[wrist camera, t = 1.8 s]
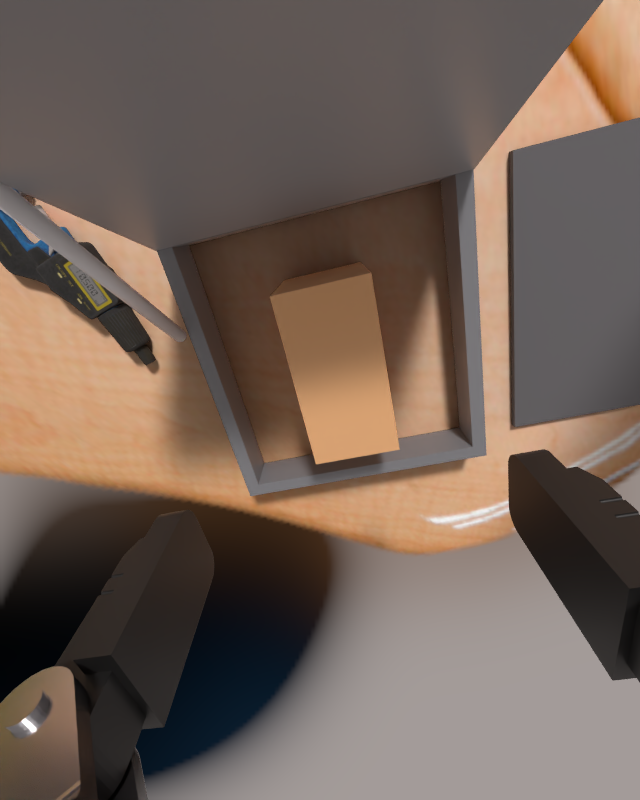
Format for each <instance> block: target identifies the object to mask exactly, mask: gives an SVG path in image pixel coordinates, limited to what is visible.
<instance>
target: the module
mask: <svg viewBox="0 0 640 800" xmlns="http://www.w3.org/2000/svg"><path fill="white" fill-rule="evenodd" d="M270 300H271V304H272V307H273V311H274V315H275V318H276V322H277V325H278V329H279V333H280V336H281V340H282V343H283V347H284V351H285V354H286V358H287V362H288V365H289V369H290V372H291V376H292V380H293V383H294V387H295V390H296V394H297V398H298V401H299V405H300V409H301V412H302V416H303V419H304V423H305V427H306V430H307V434H308V437H309V441H310V445H311V448H312V452H313V456H314V459H315V463H316V464H321V463H327V462H333V461H338V460H344V459H350V458H355V457H361V456H367V455H372V454H378V453H383V452H389V451H395V450H400V448H399V442H398V436H397V429H396V423H395V417H394V411H393V404H392V398H391V392H390V386H389V379H388V373H387V367H386V361H385V355H384V348H383V342H382V336H381V330H380V323H379V317H378V311H377V305H376V298H375V292H374V286H373V280H372V273H371V272H370V271H369V270H368V269H367V268H366V267H365V266H364V265H363V264H362V263H361V262H359V263H354V264H350V265H346V266H342V267H338V268H333V269H329V270H325V271H321V272H317V273H312V274H308V275H304V276H300V277H296V278H291V279H287V280H284V281H283V282H282V283H281V284H280V285H279V287H278V288H277V289H276V290H275V291H274V292H273V293H272V294H271V295H270Z"/></svg>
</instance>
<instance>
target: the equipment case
mask: <svg viewBox="0 0 640 800" xmlns="http://www.w3.org/2000/svg"><path fill="white" fill-rule="evenodd" d="M602 1H603V0H0V210H2V211H3V212H4V213H6V214H7V215H8V216H10V217H11V218H12V219H14V220H15V221H16V222H18V223H19V224H20V225H22V226H23V227H24V228H26V229H27V230H28V231H30V232H31V233H33V234H34V235H35V236H37V237H38V238H39V239H41V240H42V241H43V242H45V243H46V244H47V245H49V246H50V247H51V248H53V249H54V250H55V251H57V252H58V253H59V254H61V255H62V256H63V257H65V258H66V259H67V260H69V261H70V262H71V263H73V264H74V265H75V266H77V267H78V268H79V269H81V270H82V271H83V272H85V273H86V274H87V275H89V276H90V277H91V278H93V279H94V280H95V281H97V282H98V283H99V284H101V285H102V286H103V287H105V288H106V289H107V290H109V291H110V292H111V293H113V294H114V295H115V296H117V297H118V298H119V299H121V300H122V301H123V302H125V303H126V304H127V305H129V306H130V307H131V308H133V309H134V310H135V311H137V312H138V313H139V314H141V315H142V316H143V317H145V318H146V319H147V320H149V321H150V322H151V323H153V324H154V325H155V326H157V327H158V328H159V329H161V330H162V331H164V332H165V333H166V334H168V335H169V336H170V337H172V338H173V339H174V340H176V341H177V342H183V341H184V340H185V339H186V337H187V335H186V332H185V331H184V330H182V329H181V328H180V327H179V326H178V325H176V324H175V323H174V322H173V321H172V320H170V319H169V318H168V317H167V316H166V315H164V314H163V313H162V312H161V311H160V310H158V309H157V308H156V307H155V306H154V305H152V304H151V303H150V302H149V301H148V300H146V299H145V298H144V297H143V296H142V295H140V294H139V293H138V292H137V291H136V290H134V289H133V288H132V287H131V286H130V285H128V284H127V283H126V282H125V281H123V280H122V279H121V278H120V277H119V276H117V275H116V274H115V273H114V272H113V271H111V270H110V269H109V268H108V267H107V266H105V265H104V264H103V263H102V262H101V261H99V260H98V259H97V258H96V257H95V256H93V255H92V254H91V253H90V252H89V251H87V250H86V249H85V248H84V247H83V246H81V245H80V244H79V243H78V242H77V241H75V240H74V239H73V238H72V237H71V236H69V235H68V234H67V233H66V232H64V231H63V230H62V229H61V228H60V227H58V226H57V225H56V224H55V223H54V222H52V221H51V220H50V219H49V218H48V217H46V216H45V215H44V214H43V213H42V212H40V211H39V210H38V209H37V208H36V207H34V206H33V205H32V204H31V203H30V202H28V201H27V200H26V199H25V198H24V197H22V196H21V195H20V194H19V193H18V192H16V191H15V190H14V189H16V190H18V191H20V192H22V193H25V194H27V195H29V196H32V197H34V198H36V199H38V200H41V201H43V202H45V203H48V204H50V205H52V206H54V207H57V208H59V209H61V210H64V211H66V212H68V213H71V214H73V215H75V216H77V217H80V218H82V219H84V220H87V221H89V222H91V223H93V224H96V225H98V226H100V227H103V228H105V229H107V230H109V231H112V232H114V233H116V234H119V235H121V236H123V237H125V238H128V239H130V240H132V241H135V242H137V243H139V244H141V245H144V246H146V247H148V248H151V249H153V250H155V251H157V252H158V255H159V257H160V260H161V263H162V265H163V268H164V270H165V273H166V276H167V278H168V281H169V284H170V286H171V289H172V291H173V294H174V297H175V299H176V302H177V305H178V307H179V310H180V312H181V315H182V318H183V320H184V323H185V325H186V328H187V331H188V333H189V336H190V339H191V341H192V344H193V346H194V349H195V352H196V354H197V357H198V360H199V362H200V365H201V367H202V370H203V373H204V375H205V378H206V380H207V383H208V386H209V388H210V391H211V394H212V396H213V399H214V401H215V404H216V407H217V409H218V412H219V415H220V417H221V420H222V422H223V425H224V428H225V430H226V433H227V435H228V438H229V441H230V443H231V446H232V449H233V451H234V454H235V456H236V459H237V462H238V464H239V467H240V470H241V472H242V475H243V477H244V480H245V483H246V485H247V488H248V490H249V493H250V496H254V495H260V494H266V493H272V492H277V491H283V490H289V489H295V488H301V487H306V486H312V485H318V484H324V483H329V482H335V481H341V480H347V479H352V478H358V477H364V476H370V475H375V474H381V473H387V472H393V471H399V470H404V469H410V468H416V467H422V466H427V465H433V464H439V463H445V462H450V461H456V460H462V459H468V458H473V457H479V456H485V455H486V437H485V415H484V393H483V371H482V349H481V327H480V305H479V283H478V261H477V239H476V217H475V195H474V173H473V169H475V167H476V166H477V165H478V164H479V162H480V161H481V160H482V158H483V157H484V156H485V154H486V153H487V152H488V150H489V149H490V148H491V147H492V145H493V144H494V143H495V141H496V140H497V139H498V137H499V136H500V135H501V133H502V132H503V131H504V130H505V128H506V127H507V126H508V124H509V123H510V122H511V120H512V119H513V118H514V116H515V115H516V114H517V113H518V111H519V110H520V109H521V107H522V106H523V105H524V103H525V102H526V101H527V99H528V98H529V97H530V96H531V94H532V93H533V92H534V90H535V89H536V88H537V86H538V85H539V84H540V82H541V81H542V80H543V79H544V77H545V76H546V75H547V73H548V72H549V71H550V69H551V68H552V67H553V65H554V64H555V63H556V62H557V60H558V59H559V58H560V56H561V55H562V54H563V52H564V51H565V50H566V48H567V47H568V46H569V45H570V43H571V42H572V41H573V39H574V38H575V37H576V35H577V34H578V33H579V31H580V30H581V29H582V28H583V26H584V25H585V24H586V22H587V21H588V20H589V18H590V17H591V16H592V14H593V13H594V12H595V11H596V9H597V8H598V7H599V5H600V4H601V3H602ZM439 181H440V183H441V196H442V209H443V222H444V235H445V247H446V260H447V273H448V286H449V298H450V311H451V324H452V337H453V349H454V362H455V375H456V388H457V401H458V413H459V426H460V428H454V429H449V430H443V431H438V432H432V433H427V434H421V435H416V436H410V437H405V438H399V439H398V442H399V448H400V450H395V451H389V452H383V453H378V454H372V455H367V456H361V457H355V458H350V459H344V460H338V461H333V462H327V463H321V464H316V463H315V459H314V456H313V454H312V455H307V456H301V457H296V458H290V459H285V460H279V461H274V462H268V463H264V461H263V458H262V455H261V452H260V449H259V446H258V443H257V441H256V438H255V435H254V432H253V429H252V426H251V423H250V420H249V417H248V415H247V412H246V409H245V406H244V403H243V400H242V397H241V394H240V391H239V389H238V386H237V383H236V380H235V377H234V374H233V371H232V368H231V365H230V363H229V360H228V357H227V354H226V351H225V348H224V345H223V342H222V339H221V337H220V334H219V331H218V328H217V325H216V322H215V319H214V316H213V313H212V311H211V308H210V305H209V302H208V299H207V296H206V293H205V290H204V287H203V285H202V282H201V279H200V276H199V273H198V270H197V267H196V264H195V261H194V259H193V256H192V253H191V250H190V247H189V245H193V244H197V243H200V242H204V241H208V240H212V239H216V238H220V237H224V236H228V235H232V234H236V233H240V232H243V231H247V230H251V229H255V228H259V227H263V226H267V225H271V224H275V223H279V222H283V221H286V220H290V219H294V218H298V217H302V216H306V215H310V214H314V213H318V212H322V211H326V210H329V209H333V208H337V207H341V206H345V205H349V204H353V203H357V202H361V201H365V200H368V199H372V198H376V197H380V196H384V195H388V194H392V193H396V192H400V191H404V190H408V189H411V188H415V187H419V186H423V185H427V184H431V183H435V182H439Z"/></svg>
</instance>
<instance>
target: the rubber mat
mask: <svg viewBox="0 0 640 800" xmlns="http://www.w3.org/2000/svg"><path fill="white" fill-rule="evenodd" d="M509 163H510V259H511V355H512V425H513V426H514V427H518V426H524V425H529V424H535V423H540V422H546V421H552V420H557V419H563V418H568V417H574V416H579V415H585V414H590V413H596V412H601V411H607V410H613V409H618V408H624V407H629V406H635V405H640V118H636V119H632V120H629V121H625V122H621V123H617V124H613V125H609V126H605V127H602V128H598V129H594V130H590V131H586V132H582V133H578V134H575V135H571V136H567V137H563V138H559V139H555V140H552V141H548V142H544V143H540V144H536V145H532V146H528V147H525V148H521V149H517V150H513V151H511V152H509Z"/></svg>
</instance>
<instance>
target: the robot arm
mask: <svg viewBox="0 0 640 800" xmlns="http://www.w3.org/2000/svg"><path fill="white" fill-rule="evenodd" d="M508 479H509V510H510V515H511V518H512V521H513V524H514V526H515V528H516V530H517V532H518V534H519V535H520V537H521V538H522V540H523V541H524V543H525V545H526V546H527V548H528V549H529V551H530V552H531V554H532V555H533V557H534V559H535V560H536V562H537V563H538V565H539V566H540V568H541V570H542V571H543V572H544V574H545V576H546V577H547V579H548V580H549V582H550V584H551V585H552V587H553V588H554V590H555V591H556V593H557V594H558V596H559V598H560V599H561V601H562V602H563V604H564V605H565V607H566V609H567V610H568V612H569V613H570V615H571V616H572V618H573V619H574V621H575V623H576V624H577V626H578V627H579V629H580V630H581V632H582V634H583V635H584V637H585V638H586V640H587V641H588V642H589V644H590V646H591V648H592V649H593V651H594V652H595V654H596V655H597V657H598V658H599V660H600V662H601V663H602V665H603V666H604V668H605V669H606V671H607V672H608V674H609V676H610V677H611V679H612V680H621V679H630V678H637V679H638V680H639V682H640V515H639V513H638V511H637V510H636V509H635V508H634V507H633V506H632V505H631V504H629V503H628V502H627V501H626V500H623V499H622V497H621V496H620V495H619V494H618V493H617V492H616V491H615V490H614V489H613V488H612V487H610V486H609V485H608V484H607V483H606V482H605V481H604V480H603V479H601V478H599V477H596V476H594V475H592V474H590V473H588V472H586V471H584V470H582V469H580V468H578V467H573V468H566V467H565V466H564V465H563V464H562V463H561V462H560V461H558V460H557V459H556V458H555V457H554V456H553V455H552V454H551V453H550V452H549V451H547V450H545V449H544V450H538V451H532V452H526V453H520V454H514V455H511V456H510V457H509V461H508ZM213 573H214V558H213V554H212V551H211V549H210V546H209V544H208V542H207V540H206V538H205V536H204V534H203V531H202V529H201V527H200V525H199V523H198V521H197V518H196V516H195V515H194V513H193V512H192V511H190V510H185V511H179V512H173V513H167V514H162V515H159V516H158V517H157V518H156V520H155V521H154V523H153V525H152V527H151V528H150V530H149V532H148V533H147V535H146V537H145V538H141V539H140V540H139V541H138V542H137V543H136V544H135V545H134V546H133V547H132V548H131V549H130V550H129V551H128V552H127V553H126V554H125V555H124V556H123V558H122V559H121V561H120V562H119V564H118V566H117V567H116V569H115V570H114V572H113V574H112V578H111V579H109V580H108V582H107V583H106V585H105V587H104V588H103V590H102V591H101V592H102V594H101V596H98V598H97V599H96V601H95V603H94V604H93V606H92V608H91V609H90V611H89V612H88V614H87V616H86V617H85V619H84V620H83V622H82V623H81V625H80V627H79V628H78V630H77V631H76V633H75V635H74V636H73V638H72V640H71V641H70V643H69V644H68V646H67V648H66V649H65V651H64V652H63V654H62V656H61V657H60V659H59V660H58V662H57V664H56V665H55V666H54V667H51V668H48V669H45V670H43V671H40V672H38V673H36V674H35V675H33V676H32V677H30V678H28V679H27V680H26V681H24V682H23V683H22V684H20V685H19V686H18V687H17V688H16V689H14V690H13V691H12V692H11V693H10V694H9V695H8V696H7V697H6V698H5V699H4V700H3V702H2V703H1V704H0V800H148V797H147V792H146V788H145V782H144V777H143V772H142V767H141V762H140V758H139V754H138V751H137V750H136V748H135V745H136V742H137V740H138V737H139V734H140V732H141V729H148V728H158V727H164V726H165V723H166V719H167V716H168V713H169V710H170V707H171V704H172V701H173V698H174V694H175V692H176V689H177V686H178V683H179V679H180V676H181V673H182V670H183V667H184V664H185V661H186V658H187V655H188V652H189V649H190V645H191V643H192V640H193V636H194V633H195V630H196V627H197V624H198V621H199V618H200V615H201V612H202V609H203V605H204V602H205V599H206V596H207V593H208V590H209V587H210V584H211V581H212V578H213Z"/></svg>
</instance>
